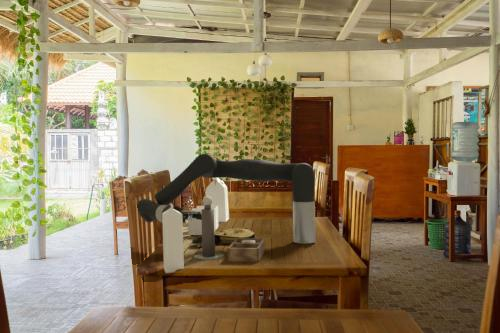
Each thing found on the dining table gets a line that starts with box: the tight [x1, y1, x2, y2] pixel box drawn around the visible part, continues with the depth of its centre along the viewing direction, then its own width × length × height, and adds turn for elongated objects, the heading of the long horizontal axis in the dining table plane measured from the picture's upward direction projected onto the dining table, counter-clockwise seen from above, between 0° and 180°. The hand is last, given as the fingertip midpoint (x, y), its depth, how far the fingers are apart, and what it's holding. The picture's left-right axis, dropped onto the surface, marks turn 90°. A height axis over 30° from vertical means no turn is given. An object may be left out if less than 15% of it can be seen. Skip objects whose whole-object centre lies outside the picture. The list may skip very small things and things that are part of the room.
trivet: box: [193, 251, 225, 260], centre depth 169 cm, size 11×11×1 cm
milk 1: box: [161, 203, 185, 274], centre depth 153 cm, size 6×6×22 cm
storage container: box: [187, 205, 220, 235], centre depth 226 cm, size 25×11×11 cm, turn 177°
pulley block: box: [191, 227, 256, 245], centre depth 197 cm, size 14×6×30 cm
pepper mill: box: [201, 195, 216, 257], centre depth 168 cm, size 5×5×22 cm
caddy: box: [226, 237, 266, 263], centre depth 168 cm, size 11×18×6 cm, turn 172°
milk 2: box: [205, 178, 230, 223], centre depth 259 cm, size 12×12×26 cm
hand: (193, 218), depth 173 cm, fingers open, 8 cm apart
